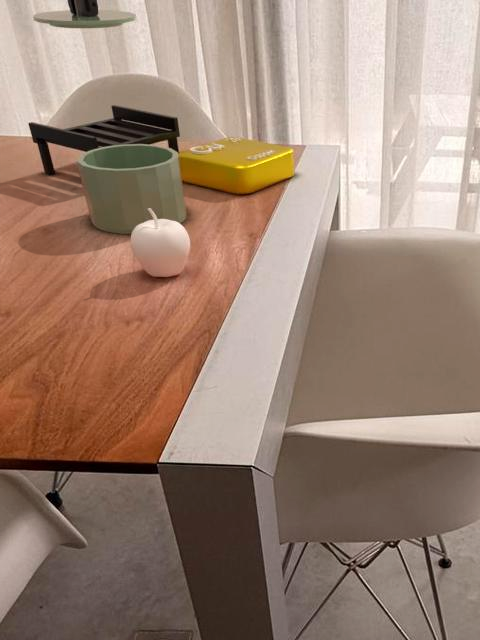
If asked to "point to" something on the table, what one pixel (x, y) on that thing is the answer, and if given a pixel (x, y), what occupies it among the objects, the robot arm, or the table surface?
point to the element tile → (236, 165)
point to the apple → (160, 246)
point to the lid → (84, 18)
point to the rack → (107, 133)
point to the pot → (131, 185)
